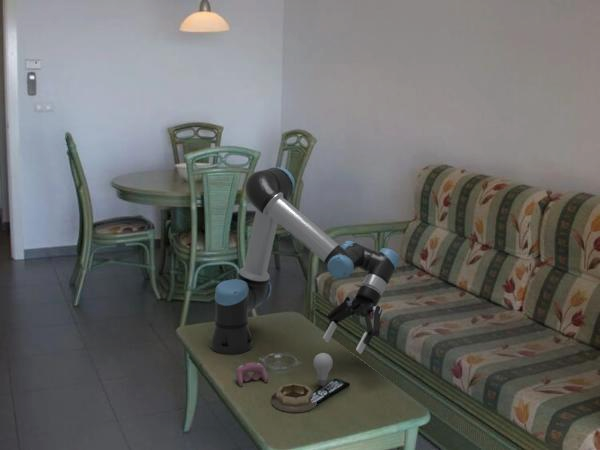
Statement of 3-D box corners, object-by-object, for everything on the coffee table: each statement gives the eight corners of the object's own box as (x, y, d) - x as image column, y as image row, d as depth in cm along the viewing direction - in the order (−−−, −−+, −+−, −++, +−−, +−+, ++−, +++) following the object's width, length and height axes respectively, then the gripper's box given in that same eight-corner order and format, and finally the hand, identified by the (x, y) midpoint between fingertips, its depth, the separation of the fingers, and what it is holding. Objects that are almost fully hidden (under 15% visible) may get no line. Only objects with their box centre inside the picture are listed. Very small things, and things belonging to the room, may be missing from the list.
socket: (263, 396, 211) (263, 386, 210) (304, 388, 217) (304, 377, 217) (283, 416, 199) (284, 405, 198) (326, 407, 205) (326, 396, 204)
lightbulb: (330, 391, 216) (331, 358, 213) (311, 389, 217) (312, 356, 214) (333, 383, 222) (334, 350, 219) (314, 380, 223) (315, 348, 220)
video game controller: (265, 382, 224) (262, 361, 225) (269, 382, 220) (266, 360, 221) (236, 387, 220) (233, 365, 222) (239, 386, 216) (237, 364, 218)
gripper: (406, 305, 224) (377, 362, 216) (346, 288, 240) (317, 341, 232) (398, 293, 219) (368, 351, 211) (337, 277, 235) (307, 330, 227)
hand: (341, 346), depth 221 cm, fingers open, 13 cm apart
